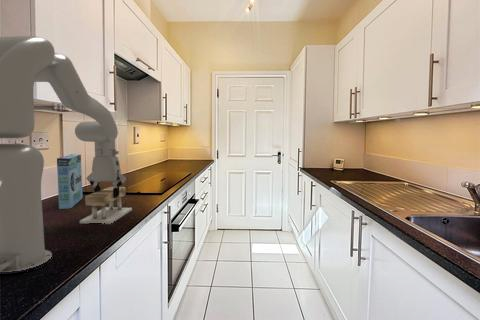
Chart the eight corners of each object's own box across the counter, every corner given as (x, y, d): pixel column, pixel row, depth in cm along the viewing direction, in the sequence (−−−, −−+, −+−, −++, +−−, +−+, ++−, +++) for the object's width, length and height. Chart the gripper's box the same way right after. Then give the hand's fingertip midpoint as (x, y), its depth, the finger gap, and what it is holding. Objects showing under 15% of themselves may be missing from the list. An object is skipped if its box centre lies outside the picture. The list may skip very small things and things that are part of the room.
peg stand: (110, 224, 107) (110, 208, 106) (79, 223, 107) (78, 207, 107) (132, 209, 126) (131, 196, 125) (105, 209, 126) (105, 196, 126)
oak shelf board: (110, 194, 125) (109, 186, 124) (125, 195, 124) (125, 187, 124) (85, 205, 107) (85, 196, 107) (103, 205, 106) (103, 196, 106)
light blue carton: (72, 199, 144) (70, 154, 142) (83, 198, 146) (81, 154, 143) (58, 209, 126) (55, 158, 123) (71, 208, 127) (68, 157, 124)
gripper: (130, 153, 117) (131, 195, 119) (89, 152, 118) (91, 194, 120) (122, 154, 110) (123, 199, 111) (78, 154, 110) (80, 198, 112)
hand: (107, 196), depth 116 cm, fingers closed on oak shelf board, 6 cm apart
